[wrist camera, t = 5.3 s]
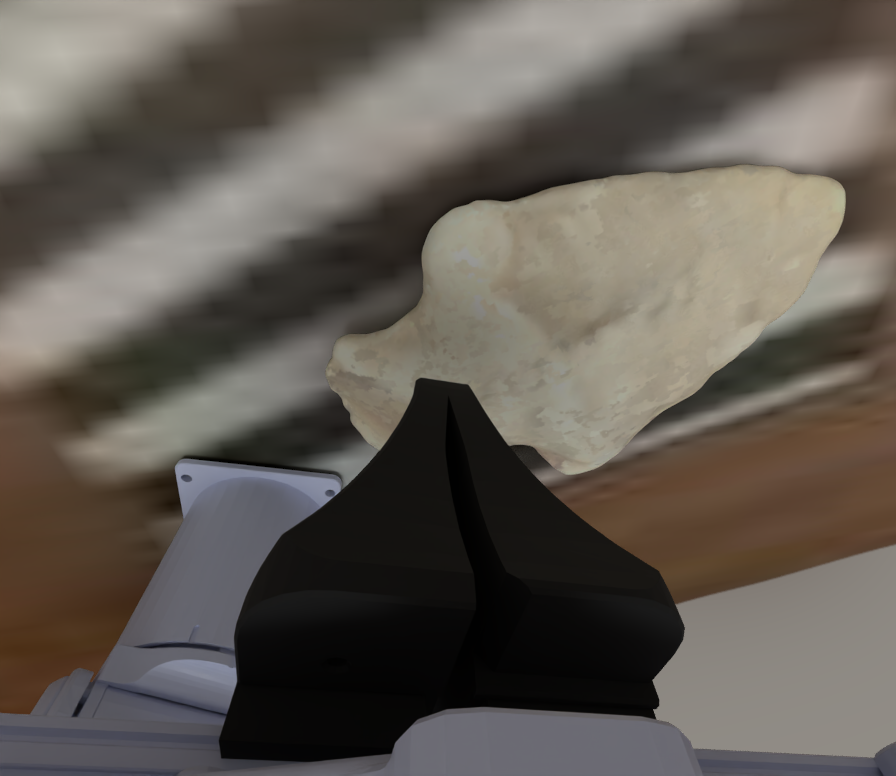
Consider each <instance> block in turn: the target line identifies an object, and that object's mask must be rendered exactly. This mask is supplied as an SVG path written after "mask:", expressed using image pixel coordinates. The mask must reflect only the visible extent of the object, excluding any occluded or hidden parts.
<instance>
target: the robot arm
mask: <svg viewBox="0 0 896 776" xmlns="http://www.w3.org/2000/svg"><path fill="white" fill-rule="evenodd" d="M175 473H176V478H177V484H178V490H179V495H180V501H181V507H182V512H183V518H184V520H183V522H182V524H181V526H180V528H179V530H178V531H177V533H176V535H175V537H174V539H173V541H172V542H171V544H170V546H169V548H168V550H167V552H166V553H165V555H164V557H163V559H162V561H161V563H160V565H159V566H158V568H157V570H156V572H155V574H154V576H153V577H152V579H151V581H150V583H149V585H148V587H147V588H146V590H145V592H144V594H143V596H142V598H141V600H140V601H139V603H138V605H137V607H136V609H135V611H134V612H133V614H132V616H131V618H130V620H129V622H128V623H127V625H126V627H125V629H124V631H123V633H122V635H121V636H120V638H119V640H118V642H117V644H116V646H115V647H114V648H113V650H112V652H111V653H110V655H109V656H108V658H107V659H106V661H105V663H104V664H103V666H102V667H101V669H100V671H99V672H98V674H97V675H96V677H95V678H94V680H93V682H90V680H91V678H92V676H93V673H94V672H92V671H89V670H85V669H82V668H78V669H76V670H74V671H73V672H72V673H71V675H70V677H69V676H65V677H63V678H61V679H59V680H57V681H55V682H53V683H51V684H50V685H49V686H48V688H47V689H46V691H45V692H44V694H43V695H42V697H41V698H40V700H39V701H38V703H37V704H36V706H35V708H34V709H33V711H32V712H31V714H30V715H26V714H7V713H0V776H896V742H894V743H892V744H890V745H888V746H886V747H885V748H883V749H882V750H880V751H879V752H878V753H876V755H875V757H874V758H867V757H847V756H828V755H809V754H789V753H769V752H749V751H730V750H711V749H693V747H692V745H691V742H690V741H689V739H688V738H687V737H686V736H685V735H684V734H683V733H682V732H681V731H680V730H679V729H678V728H677V727H675V726H674V725H672V724H670V723H669V722H664V721H659V720H656V717H655V714H654V711H653V709H657V707H658V706H659V698H658V695H657V692H656V689H655V687H654V684H653V681H652V680H653V679H654V678H655V676H656V675H657V674H658V673H659V672H660V671H661V669H662V668H663V667H664V666H665V665H666V664H667V662H668V661H669V660H670V659H671V658H672V656H673V655H674V654H675V652H676V651H677V649H678V647H679V646H680V644H681V642H682V641H683V637H684V630H685V627H684V624H683V622H682V620H681V617H680V615H679V612H678V610H677V608H676V605H675V603H674V601H673V598H672V596H671V594H670V592H669V590H668V588H667V586H666V584H665V582H664V580H663V578H662V576H661V574H660V573H659V571H658V570H656V569H655V568H653V567H651V566H650V565H648V564H647V563H645V562H643V561H642V560H640V559H639V558H637V557H635V556H634V555H632V554H631V553H629V552H628V551H626V550H624V549H623V548H621V547H620V546H618V545H617V544H615V543H614V542H612V541H611V540H609V539H608V538H607V537H605V536H604V535H603V534H601V533H600V532H598V531H597V530H596V529H594V528H593V527H592V526H590V525H589V524H588V523H586V522H585V521H584V520H583V519H581V518H580V517H579V516H578V515H576V514H575V513H574V512H573V511H572V510H571V509H569V508H568V507H567V506H566V505H565V504H564V503H562V502H561V501H560V500H559V499H558V498H557V497H556V496H555V495H553V494H552V493H551V492H550V491H549V490H548V489H547V488H546V487H545V486H544V485H543V484H542V483H541V482H540V481H539V480H538V479H537V478H536V477H535V476H534V475H533V474H532V472H531V471H530V470H529V469H528V468H527V467H526V466H525V465H524V464H523V463H522V461H521V460H520V459H519V458H518V457H517V455H516V454H515V453H514V452H513V450H512V449H511V448H510V447H509V445H508V444H507V443H506V441H505V440H504V439H503V437H502V436H501V434H500V433H499V431H498V430H497V429H496V427H495V426H494V424H493V423H492V421H491V420H490V418H489V417H488V415H487V414H486V412H485V410H484V409H483V407H482V406H481V404H480V402H479V401H478V399H477V397H476V396H475V394H474V392H473V391H472V389H471V388H470V386H469V385H468V384H461V383H455V382H448V381H441V380H435V379H428V378H419V379H417V380H416V381H415V387H414V392H413V396H412V399H411V401H410V403H409V405H408V407H407V409H406V411H405V413H404V415H403V417H402V418H401V420H400V422H399V424H398V425H397V427H396V428H395V430H394V431H393V433H392V434H391V436H390V437H389V439H388V440H387V441H386V443H385V444H384V445H383V447H382V448H381V449H380V451H379V452H378V453H377V454H376V456H375V457H374V458H373V459H372V460H371V461H370V463H369V464H368V465H367V466H366V467H365V468H364V469H363V470H362V471H361V472H360V473H359V474H358V475H357V476H356V477H355V478H354V479H353V480H352V481H351V482H350V483H349V484H348V485H347V486H346V487H345V488H344V489H343V490H341V485H342V482H341V479H340V478H339V477H338V476H336V475H333V474H324V473H315V472H305V471H296V470H287V469H278V468H269V467H259V466H250V465H241V464H232V463H222V462H213V461H204V460H195V459H181V460H179V462H178V463H177V464H176V466H175ZM187 475H189V476H187ZM329 490H333V491H329Z"/></svg>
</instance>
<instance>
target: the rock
mask: <svg viewBox="0 0 896 776" xmlns="http://www.w3.org/2000/svg"><path fill="white" fill-rule="evenodd" d="M845 201H846V196H845V190H844V188H843V187H842V185H841V184H840V183H839V182H837V181H836V180H834V179H831V178H829V177H824V176H819V175H812V174H795V173H792V172H790V171H788V170H786V169H784V168H782V167H778V166H757V165H749V164H740V165H735V166H731V167H712V168H706V169H699V170H694V171H690V172H682V173H666V172H658V171H654V172H644V173H638V174H632V175H614V176H610V177H606V178H602V179H594V180H587V181H582V182H577V183H573V184H568V185H562V186H557V187H552V188H549V189H546V190H543V191H540V192H538V193H535V194H532V195H530V196H527V197H523V198H520V199H517V200H513V201H508V202H502V201H496V200H476V201H473V202H472V203H470V204H468V205H464V206H460V207H456V208H454V209H452V210H451V211H449V212H448V213H447V214H445V215H444V216H443V217H441V218H440V219H439V220H438V221H437V222H436V223H435V224H434V225H433V227H432V228H431V229H430V231H429V233H428V235H427V238H426V241H425V243H424V246H423V250H422V268H423V294H422V297H421V299H420V301H419V303H418V304H417V306H416V307H415V308H414V309H412V310H411V311H410V312H409V313H407V314H406V315H405V316H404V317H403V318H401V319H400V320H399V321H397V322H396V323H395V324H394V325H392V326H391V327H389V328H387V329H384V330H380V331H376V332H373V333H369V334H347V335H344V336H342V337H340V338H338V339H337V340H336V342H335V345H334V348H333V353H332V358H331V359H330V361H329V363H328V365H327V368H326V371H325V375H326V378H327V380H328V383H329V385H330V387H331V389H332V390H333V391H334V392H336V393H338V394H339V396H340V397H341V398H342V401H343V405H344V406H345V408H346V409H347V410H348V411H349V412H350V419H351V422H352V424H353V425H354V426H355V428H356V429H357V430H358V431H359V432H360V433H361V435H362V436H363V438H364V439H365V440H366V441H367V442H368V443H369V444H370V445H371V446H373V447H375V448H376V449H378V450H379V451H380V449H381V448H382V447H383V445H384V444H385V443H386V441H387V440H388V439H389V437H390V436H391V434H392V433H393V431H394V430H395V428H396V427H397V425H398V424H399V422H400V420H401V418H402V417H403V415H404V413H405V411H406V409H407V407H408V405H409V403H410V401H411V399H412V396H413V392H414V387H415V381H416V380H417V379H419V378H428V379H435V380H441V381H448V382H455V383H461V384H468V385H469V386H470V388H471V389H472V391H473V392H474V394H475V396H476V397H477V399H478V401H479V402H480V404H481V406H482V407H483V409H484V410H485V412H486V414H487V415H488V417H489V418H490V420H491V421H492V423H493V424H494V426H495V427H496V429H497V430H498V431H499V433H500V434H501V436H502V437H503V439H504V440H505V441H506V443H507V444H508V445H509V446H511V445H519V444H520V445H529V446H532V447H534V448H535V449H536V450H537V451H538V453H539V454H540V455H541V456H542V457H543V458H545V459H546V460H547V461H548V462H549V463H550V464H551V465H552V466H553V467H554V468H555V469H556V470H558V471H560V472H562V473H564V474H567V475H572V474H579V473H583V472H586V471H589V470H593V469H595V468H598V467H600V466H601V465H603V464H604V463H606V462H607V461H608V460H610V459H611V458H613V457H614V456H615V455H617V454H618V453H619V452H620V451H621V450H622V449H623V448H624V447H625V446H626V445H627V444H628V443H629V441H630V440H631V439H632V438H633V437H634V436H635V435H636V434H637V433H638V432H639V431H640V430H641V429H642V428H643V427H644V426H645V425H646V424H648V423H649V422H650V421H651V420H652V419H654V418H655V417H656V416H657V415H658V414H660V413H661V412H663V411H664V410H666V409H667V408H669V407H671V406H673V405H675V404H676V403H678V402H680V401H682V400H684V399H686V398H687V397H689V396H691V395H693V394H694V393H695V392H696V391H698V390H699V389H700V388H701V387H702V386H703V385H704V383H705V382H706V381H707V380H708V378H709V377H710V376H711V375H712V374H713V373H715V372H716V371H718V370H719V369H721V368H722V367H724V366H725V365H726V364H728V363H729V362H730V361H732V360H733V359H735V358H736V357H737V356H738V355H739V354H740V353H741V352H742V351H744V350H745V349H746V348H748V347H749V346H750V345H751V344H752V343H753V342H754V341H755V340H756V339H757V338H758V337H759V335H760V334H761V332H762V330H763V329H764V328H765V327H766V326H767V325H769V324H770V323H771V322H773V321H774V320H776V319H777V318H779V317H780V316H781V315H783V314H784V313H785V312H786V311H787V310H788V309H789V308H790V307H791V306H792V305H793V304H794V303H795V302H796V301H797V300H798V299H799V298H800V297H801V295H802V294H803V293H804V292H805V289H806V288H807V286H808V283H809V281H810V279H811V277H812V275H813V273H814V272H815V269H816V267H817V265H818V261H819V259H820V257H821V255H822V254H823V253H824V251H825V249H826V248H827V247H828V245H829V244H830V242H831V241H832V240H833V239H834V237H835V236H836V235H837V233H838V231H839V229H840V226H841V224H842V221H843V217H844V212H845Z"/></svg>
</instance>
